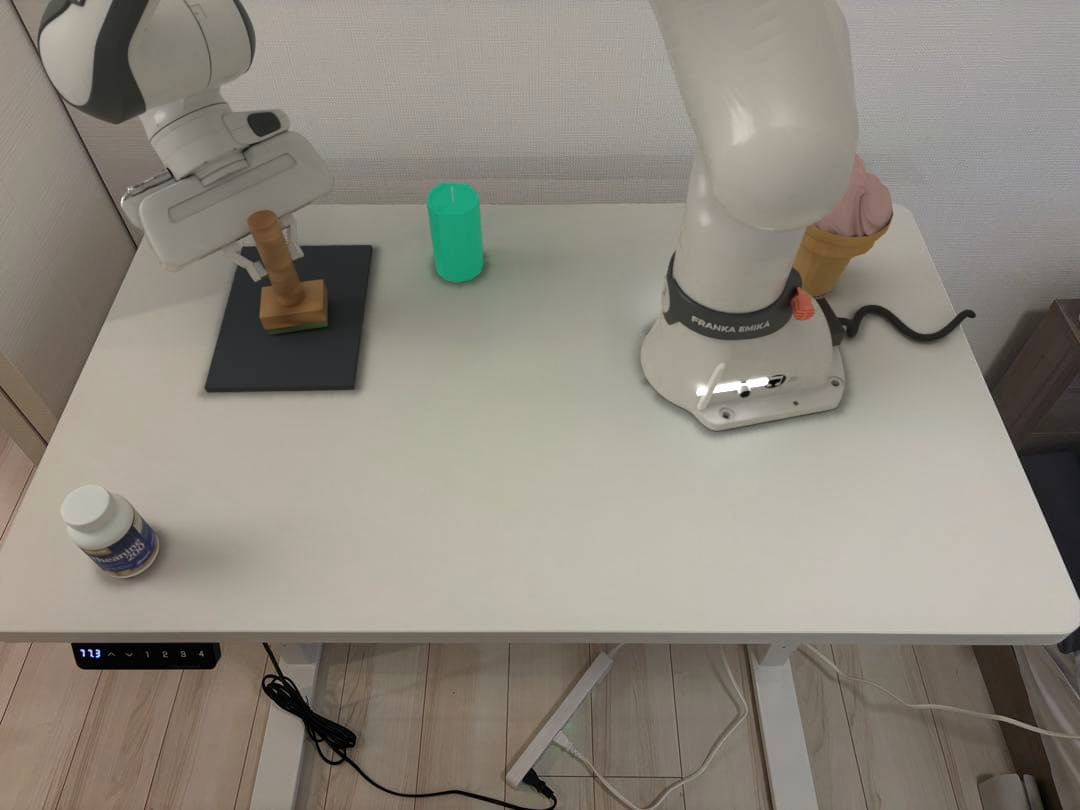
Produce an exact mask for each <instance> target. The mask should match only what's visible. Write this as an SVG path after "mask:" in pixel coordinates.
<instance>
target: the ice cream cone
mask: <svg viewBox="0 0 1080 810" xmlns="http://www.w3.org/2000/svg"><path fill="white" fill-rule="evenodd" d="M893 218H894V208H893V201H892V197H891V193H890V190H889V187H888V186H887V185H885V184H883V183H882V182H881V180H880V178H879V177H878V176H877V175H875V174H873V173H870V172H867V170H866V165H865V161H864V158H862V157H860V156H859V154H857V153H856V155H855V160H854V164H853V168H852V172H851V176H850V180H849V183H848V187H847V189H846V192H845V194H844V196H843V198H842V199H841V201H840V202H839V203H838V205H837V206H836V207H835V208H834V209H833V210H832V211H831V212H830V213H829V214H828V215H826V216H825V217H824V218H822V219H821V220H819V221H817V222H816V223H814V224H812V225H810V226H807V228H806V231H805V234H804V236H803V239H802V242H801V244H800V247H799V250H798V252H797V255H796V258H795V260H794V263H793V264H794V268H795V269H796V270H797V271H798V272H799V274H800V276H801V279H802V283H803V285H802V288H801V290H803V291H806V292H807V293H809V294H810V295H811V296H812V297H819V296H823V295H825V294H826V293H828V292H829V291H831V290H832V289H833V288H834V287H835V286H836V285H837V282H838V281H839V279H840V278H841V276H842V275H843V273H844V271H845V270H846V269H847V267H848V265H849V263H850V261H851V260H852V259H854V258H855V257H858V256H862V255H865V254H866V253H868V252H869V251H870V250H871V249H872V248H873V247H874V246H875V242H877V241H878V240H879V239H881V237H883V236H884V235H885V234H886V233H887V232H888V230H889V228H890V226H891V223H892V221H893Z"/></svg>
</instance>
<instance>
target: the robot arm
mask: <svg viewBox="0 0 1080 810" xmlns="http://www.w3.org/2000/svg"><path fill="white" fill-rule="evenodd" d="M647 1H648V3H649V6H650V8H651V10H652V13H653V16H654V18H655V20H656V23H657V26H658V29H659V32H660V34H661V37H662V41H663V44H664V48H665V50H666V54H667V58H668V60H669V63H670V66H671V70H672V73H673V75H674V79H675V81H676V85H677V87H678V90H679V93H680V96H681V99H682V102H683V105H684V107H685V110H686V113H687V116H688V119H689V121H690V124H691V126H692V129H693V132H694V134H695V138H696V139H695V143H694V144H695V145H694V151H693V156H692V162H691V168H690V169H691V170H690V175H689V181H688V187H687V194H686V199H685V204H684V209H683V214H682V219H681V223H680V224H681V225H680V228H679V233H678V239H677V244H676V249H675V250H674V252H673V253H672V255H671V257H670V260H669V263H668V266H667V270H666V274H665V276H664V278H663V279H664V280H663V285H662V290H661V297H660V307H661V308H660V311H659V312H658V315H657V318H656V319H655V322H654V324H653V326H652V327H651V328H650V330H649V332H648V333H647V335H646V336H645V338H644V339H643V341H642V344H641V347H640V353H639V357H640V359H639V361H640V365H641V370H642V372H643V374H644V376H645V378H646V380H647V381H648V383H649V384H650V386H651V387H652V388H653V389H654V390H655V391H656V392H657V393H658V394H659V395H660V396H661V397H663V398H664V399H666V400H667V401H669V402H670V403H672V404H674V405H676V406H677V407H679V408H682V409H684V410H686V411H688V412H689V413H691V414H692V415H693V416H694V417H695V418H696V419H697V420H698V421H699V422H700V423H701V424H702V425H703V426H704V427H705V428H707V429H708V430H710V431H715V432H720V431H726V430H731V429H736V428H741V427H746V426H747V427H748V426H752V425H757V424H763V423H766V422H773V421H778V420H783V419H789V418H794V417H800V416H803V415H808V414H809V415H810V414H815V413H819V412H824V411H830V410H834V409H836V408H838V406H839V404H840V403H841V400H842V398H843V394H844V391H845V384H846V376H845V368H844V363H843V359H842V356H841V352H840V349H839V347H838V346H840V345H841V343H842V341H843V340H844V337H845V335H846V336H847V337H848V338H854V337H855V336H856V335H857V334H858V332H859V327H860V326H861V325H860V324H861V322H862V320H863V317H864V316H865V315H866V314H868V313H875V314H879V315H881V316H882V317H884V318H885V319H886V320H887V321H889V322H890V323H891V324H892V325H893V326H894V327H895V328H896V329H897V330H898V331H899V332H900V333H902V334H903V335H905V336H906V337H908V338H910V339H911V340H914V341H917V342H925V343H926V342H928V343H929V342H934V341H938V340H940V339H942V338H944V337H946V336H948V335H949V334H951V333H952V332H953V331H954V330H956V329H957V327H958V326H960V324H961V323H962V322H963V321H965V320H966V319H967V318H969V319H975V318H976V317H977V313H976V312H975V311H974V310H972V309H967V308H965V309H964V310H962V311H960V312H959V313H958V314H957V315H956V316H955V317H954V318H953V319H952V320H951V321H950V322H948V324H947V325H946V326H944V327H942V328H941V329H940V330H938V331H936V332H935V331H934V332H932V333H921V332H918V331H916V330H913V329H912V328H910V327H909V326H908V325H906V323H904V322H903V321H902V320H901V319H900V318H899V317H898V316H897V315H896V314H894V313H893V312H892V311H891V310H889V309H887V308H886V307H884V306H882V305H878V304H867V305H864V306H862V307H860V308H859V309H858V310H857V311H856V312H855V314H854V315H853V318H852V319H850V318H847V317H841V316H837V314H836V312H834V310H833V308H832V307H831V305H830V304H829V301H828V300H827V299H826V297H821V298H814V296H811V295H810V294H809V293H807V292H806V291H803V290H801V288H802V285H803V283H802V279H801V276H800V274H799V272H798V271H797V270H796V269H795V268H794V264H793V263H794V260H795V258H796V255H797V252H798V250H799V247H800V244H801V242H802V239H803V236H804V234H805V231H806V228H807V226H810V225H812V224H814V223H816V222H817V221H819V220H821V219H822V218H824V217H825V216H826V215H828V214H829V213H830V212H831V211H832V210H833V209H834V208H835V207H836V206H837V205H838V203H839V202H840V201H841V199H842V198H843V196H844V194H845V192H846V189H847V187H848V183H849V180H850V176H851V172H852V168H853V164H854V160H855V155H856V154H857V151H858V144H859V138H860V137H859V134H860V129H859V128H860V127H859V116H858V108H857V100H856V99H857V98H856V90H855V78H854V69H853V58H852V47H851V38H850V30H849V26H848V22H847V19H846V17H845V14H844V13H843V11H842V9H841V7H840V5H839V4H838V2H837V0H647ZM38 26H39V27H38V30H37V31H38V32H37V38H36V39H37V41H36V42H37V43H36V44H37V46H36V47H37V52H38V57H39V61H40V63H41V66H42V69H43V71H44V74H45V75H46V78H47V79H48V81H49V84H51V86H52V88H53V89H54V91H55V92H56V93H57V94H58V95H59V97H60V98H61V99H62V100H63V101H64V102H65V103H67V104H68V105H70V106H71V107H73V108H74V109H76V110H78V111H80V112H82V113H84V114H85V115H88V116H90V117H92V118H95V119H98V120H99V121H102V122H105V123H108V124H112V125H120V124H122V123H124V122H127V121H130V120H132V119H134V118H136V117H138V119H139V120H140V122H141V123H142V124H141V125H142V126H143V129H144V131H145V134H146V138H147V140H148V142H149V143H150V145H151V147H152V148H153V150H154V151H155V152H156V155H157V156H158V157H159V159H160V160H161V162H162V163H163V165H164V167H165V169H163V170H160V171H158V172H156V173H153V174H152V175H150V176H148V177H147V178H145V179H143V180H141V181H136V182H134V183H132V184H130V185H129V186H128V187H126V191H125V193H124V194H123V195H122V196H121V199H120V208H121V211H122V213H123V214H124V216H125V217H126V218H127V220H128V222H129V223H130V225H132V226H133V227H134V228H135V229H136V230H139V231H141V232H143V234H144V236H145V239H146V241H147V243H148V245H149V246H150V249H151V251H152V252H153V255H154V257H155V258H156V260H157V261H158V263H159V264H160V266H161V268H163V269H164V270H166V271H169V272H172V273H177V272H180V271H182V270H184V269H186V268H187V267H189V266H191V265H193V264H195V263H198V262H199V261H201V260H203V259H205V258H207V257H209V256H211V255H213V254H215V253H216V252H219V251H221V252H222V253H223V255H224V256H225V258H226V259H227V260H228V261H230V262H232V263H234V264H236V266H237V265H239V266H241V267H243V268H246V269H247V271H248V273H249V274H250V276H251V277H252V279H253V280H254V281H255V282H257V281H259V280H261V279H262V278H264V277H266V276H268V275H269V273H268V271H267V270H266V269H265V268H264V265H263V263H262V262H261V260H259V261H257V262H255V263H253V262H251V261H250V260H248V259H246V258H245V257H243V256H241V255H240V254H241V253H240V252H241V250H242V247H240V244H239V243H238V242H239V241H241V240H242V239H244V238H246V237H248V236H250V235H252V234H251V232H250V229H249V227H248V224H247V219H248V217H249V216H250V215H252V214H253V213H255V212H257V211H261V210H270V211H273V212H274V213H275V214H276V215H277V218H278V221H279V224H280V226H281V229H282V231H284V230H286V243H287V246H288V248H289V251H290V254H291V257H292V259H293V262H294V261H296V260H298V259H300V258H302V257H303V256H304V253H303V251H302V250H301V248H300V246H301V245H299V243H298V229H297V227H298V226H297V225H298V223H297V221H296V218H295V217H294V215H293V213H295V212H297V211H299V210H301V209H303V208H306V207H308V206H309V205H311V204H313V203H315V202H317V201H320V200H321V199H323V198H325V197H327V196H329V195H330V194H331V193H332V192H333V191H334V186H335V179H334V176H333V173H332V172H331V170H330V169H329V167H328V166H327V164H326V163H325V161H324V159H323V158H322V156H321V155H320V154H319V152H318V151H317V150H316V148H315V147H314V145H313V144H312V143H311V142H310V140H309V139H307V138H306V137H305V136H304V135H303V134H301V133H299V132H297V131H294V130H289V129H290V127H291V120H290V118H289V116H288V114H287V113H286V111H285V110H283V109H281V108H269V109H258V110H247V111H245V110H244V111H234V110H233V109H232V107H231V106H230V104H229V102H227V101H226V100H225V98H224V97H223V95H222V93H221V87H222V86H224V85H227V84H230V83H232V82H234V81H236V80H237V79H239V78H240V77H241V76H243V75H244V74H246V73H247V72H248V71H249V70H250V68H251V66H252V64H253V61H254V58H255V54H256V48H257V40H256V39H257V38H256V37H257V36H256V32H255V28H254V26H253V22H252V20H251V18H250V16H249V13H248V11H247V10H246V9H245V7H244V4H242V1H240V0H50V1H49V2H48V3H47V6H46V7H45V10H44V12H43V14H42V16H41V19H40V22H39V25H38ZM129 196H130V198H128V197H129ZM845 327H846V329H845Z"/></svg>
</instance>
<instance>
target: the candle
mask: <svg viewBox="0 0 1080 810" xmlns="http://www.w3.org/2000/svg"><path fill="white" fill-rule="evenodd" d="M426 205H427V212H428V220H429V227H430V233H431V234H430V235H431V244H432V250H433V258H434V265H435V266H434V267H435V269H436V273H437V275H439V276H440V277H441V278H442V279H444V280H445V281H449V282H453V283H463V282H468V281H472V280H473V279H474V278H477V277H478V276H479V275H480V274H481V272H482V270H483V268H484V264H485V263H484V250H483V249H484V248H483V233H482V220H481V219H482V217H481V201H480V196H479V194H478V192H477V190H475V189H474V188H473V186H471V185H470V184H469V183H466V182H465V183H463V182H440V183H439V184H438V185H435V186H434V187H432V188H431V189H430V191H429V192H428V195H427V196H426Z"/></svg>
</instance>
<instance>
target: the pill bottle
mask: <svg viewBox="0 0 1080 810" xmlns="http://www.w3.org/2000/svg"><path fill="white" fill-rule="evenodd" d="M60 515H61V518H62V520H63V521H64V522H65V523H66V524H67V525H66V529H67V535H68V537H69V539H70V540H71V541H72V543H74V544H75V545H76V547H78V548H79V549H80V550H81V551H82V552H83V553H84V554H85V555H86V556H87V557H89V559H91V560H92V562H94V563H95V564H96V565H97V566H98V567H99V568H100V569H101V570H102V571H103V572H105V573H106V575H108V576H110V577H112V578H116V579H127V578H132V577H135V576H138V575H140V574H141V573H143V572H144V571H146V570H147V569H149V568H150V567H151V565H153V563H154V561H155V560H156V558H157V556H158V554H159V551H160V540H159V537H158V535H157V534H156V532H155V531H154V530H153V528H152V527H151V525H149V524H148V522H147V521H146V520H145V519H144V518H143V517H142V515H141V514H140V513H139V512H138V511H137V509H136V508H135V507H134V506H133V504H131V502H130V501H129V500H128V499H127V498H126V497H125V496H124V495H123V496H122V495H121V494H119V493H116V492H111V491H109V490H108V489H106V487H104V486H102V485H99V484H84V485H81V486H79V487H77V488H76V489H74V490H72V491H71V492H70V493H69V494H68V495H67V496H66V497H65V498H64V500H63V501H62V503H61V506H60Z"/></svg>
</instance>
